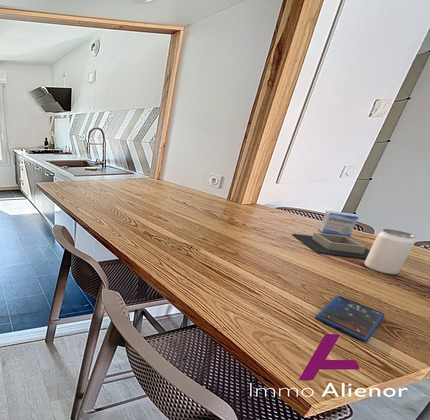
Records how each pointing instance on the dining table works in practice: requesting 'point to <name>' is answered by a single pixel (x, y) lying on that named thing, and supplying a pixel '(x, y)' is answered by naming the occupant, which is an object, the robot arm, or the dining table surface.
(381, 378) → the dining table surface
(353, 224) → the medicine box
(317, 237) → the pad
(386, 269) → the can
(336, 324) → the smartphone
